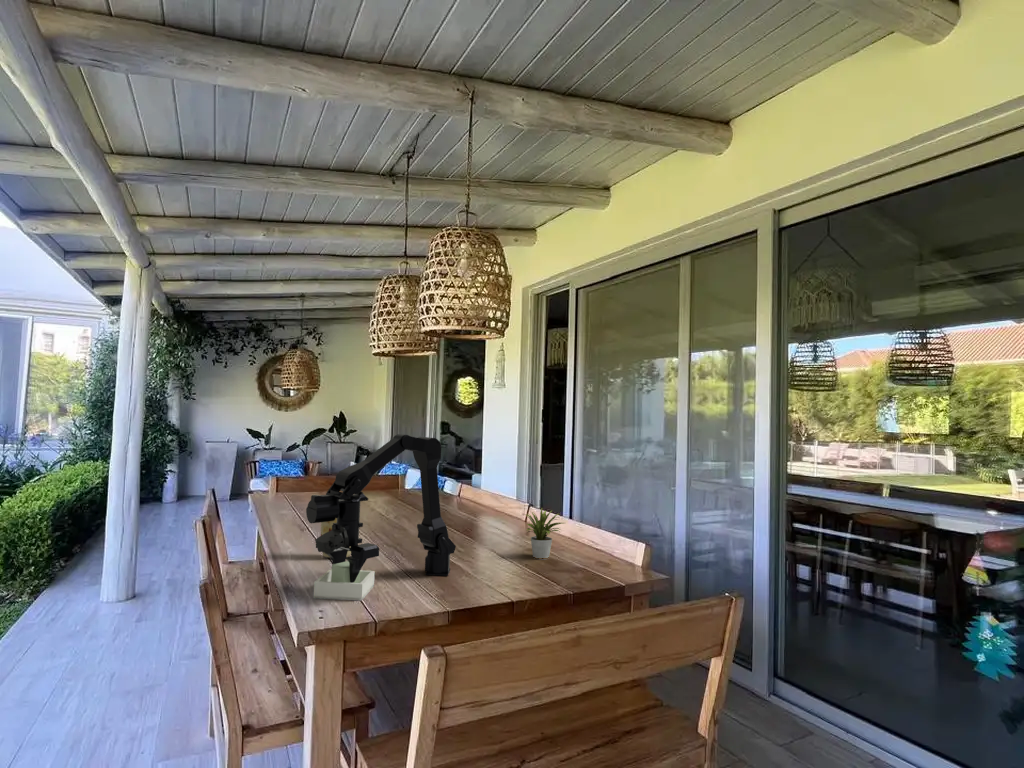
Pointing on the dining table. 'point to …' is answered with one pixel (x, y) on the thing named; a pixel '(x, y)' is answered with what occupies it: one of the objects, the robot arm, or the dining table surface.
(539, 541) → the house plant
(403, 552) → the dining table surface
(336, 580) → the green block
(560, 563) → the dining table surface
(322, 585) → the bin
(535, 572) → the dining table surface
